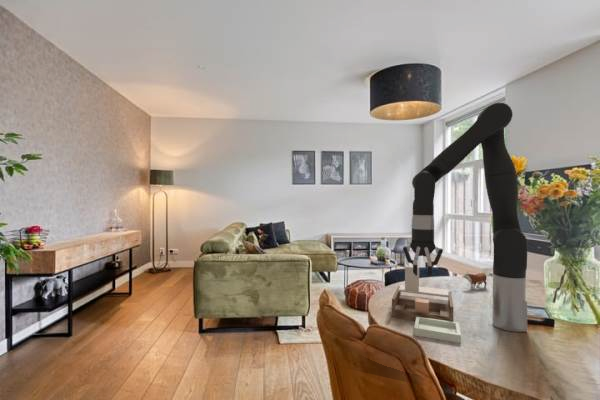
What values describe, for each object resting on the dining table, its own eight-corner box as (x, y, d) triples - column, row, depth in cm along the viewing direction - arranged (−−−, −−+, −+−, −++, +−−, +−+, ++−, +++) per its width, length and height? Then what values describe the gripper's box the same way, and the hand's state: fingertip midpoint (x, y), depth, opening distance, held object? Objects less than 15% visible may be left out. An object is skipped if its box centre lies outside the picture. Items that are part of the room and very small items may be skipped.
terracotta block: (428, 312, 116) (429, 299, 116) (428, 316, 111) (428, 303, 111) (415, 310, 117) (415, 298, 117) (414, 314, 113) (415, 301, 113)
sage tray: (458, 329, 104) (458, 322, 104) (460, 343, 94) (460, 335, 94) (416, 323, 109) (416, 316, 109) (414, 335, 99) (414, 327, 99)
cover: (448, 291, 125) (448, 266, 125) (448, 297, 117) (448, 270, 117) (400, 286, 132) (401, 262, 132) (398, 291, 124) (398, 266, 124)
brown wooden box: (451, 308, 125) (451, 291, 125) (453, 326, 107) (453, 307, 107) (398, 301, 133) (398, 286, 133) (391, 317, 115) (391, 299, 115)
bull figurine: (460, 288, 156) (461, 271, 156) (482, 286, 160) (482, 270, 160) (468, 290, 152) (468, 273, 152) (489, 288, 156) (490, 271, 156)
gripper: (444, 227, 115) (443, 275, 115) (403, 226, 121) (402, 271, 121) (444, 229, 108) (444, 280, 108) (401, 227, 114) (400, 275, 114)
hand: (422, 275), depth 114 cm, fingers open, 3 cm apart
